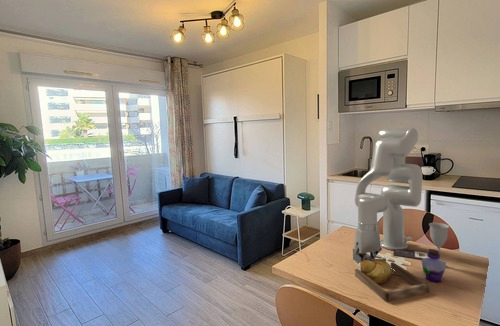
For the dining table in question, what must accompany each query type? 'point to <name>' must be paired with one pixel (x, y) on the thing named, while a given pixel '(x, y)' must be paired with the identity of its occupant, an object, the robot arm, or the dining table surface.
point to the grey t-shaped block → (368, 257)
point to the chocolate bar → (410, 254)
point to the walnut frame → (399, 293)
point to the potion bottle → (433, 266)
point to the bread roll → (376, 270)
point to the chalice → (438, 234)
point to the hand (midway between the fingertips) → (368, 265)
